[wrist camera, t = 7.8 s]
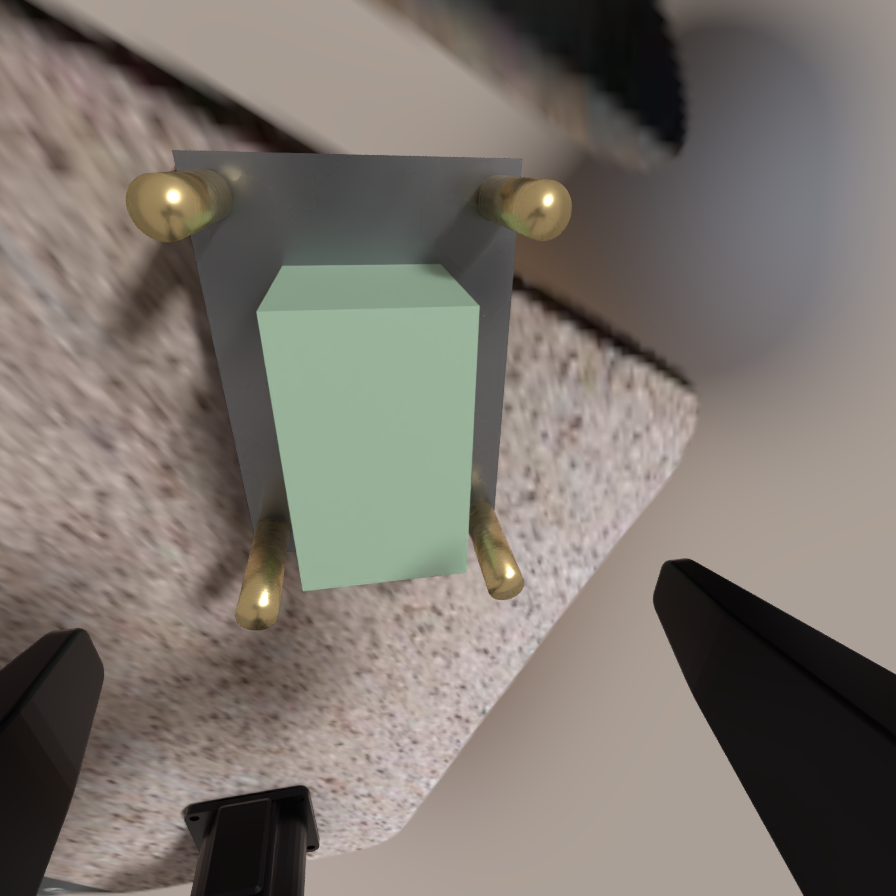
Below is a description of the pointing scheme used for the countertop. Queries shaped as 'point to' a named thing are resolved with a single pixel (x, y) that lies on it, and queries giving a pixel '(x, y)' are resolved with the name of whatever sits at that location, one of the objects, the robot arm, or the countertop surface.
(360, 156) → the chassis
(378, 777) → the countertop surface
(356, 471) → the light green block
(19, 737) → the robot arm
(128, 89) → the countertop surface
